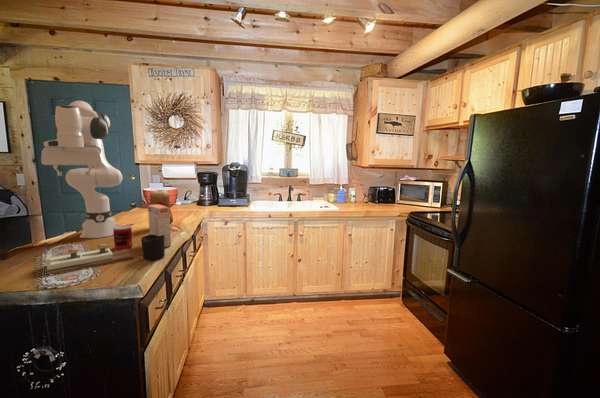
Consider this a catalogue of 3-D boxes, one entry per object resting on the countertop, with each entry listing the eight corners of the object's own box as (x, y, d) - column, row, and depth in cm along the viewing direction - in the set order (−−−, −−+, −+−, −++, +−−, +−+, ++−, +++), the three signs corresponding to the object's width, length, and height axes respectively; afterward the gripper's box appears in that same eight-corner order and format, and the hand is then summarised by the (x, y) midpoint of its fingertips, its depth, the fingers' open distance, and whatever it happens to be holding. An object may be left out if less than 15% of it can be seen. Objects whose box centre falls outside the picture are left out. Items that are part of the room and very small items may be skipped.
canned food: (129, 244, 145) (127, 224, 143) (135, 247, 140) (133, 226, 138) (112, 248, 139) (110, 226, 138) (118, 251, 134) (116, 229, 133)
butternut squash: (149, 231, 170) (147, 191, 166) (149, 227, 181) (147, 189, 178) (174, 229, 177) (172, 190, 173) (172, 224, 188) (170, 188, 184)
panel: (47, 262, 115) (46, 253, 114) (109, 252, 129) (108, 243, 128) (47, 270, 107) (46, 260, 107) (113, 258, 122) (112, 249, 121)
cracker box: (171, 246, 144) (169, 207, 141) (159, 249, 139) (157, 208, 136) (161, 240, 153) (159, 203, 150) (149, 242, 149) (147, 204, 146)
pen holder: (161, 252, 134) (160, 233, 132) (168, 258, 127) (167, 237, 126) (140, 257, 128) (138, 236, 126) (145, 263, 121) (144, 241, 119)
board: (47, 264, 116) (46, 249, 115) (127, 250, 136) (126, 237, 135) (47, 275, 106) (45, 258, 105) (133, 258, 125) (132, 244, 124)
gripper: (99, 145, 128) (102, 175, 130) (39, 142, 114) (43, 176, 116) (101, 144, 123) (104, 175, 125) (39, 141, 110) (42, 176, 111)
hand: (74, 175), depth 120 cm, fingers open, 8 cm apart
